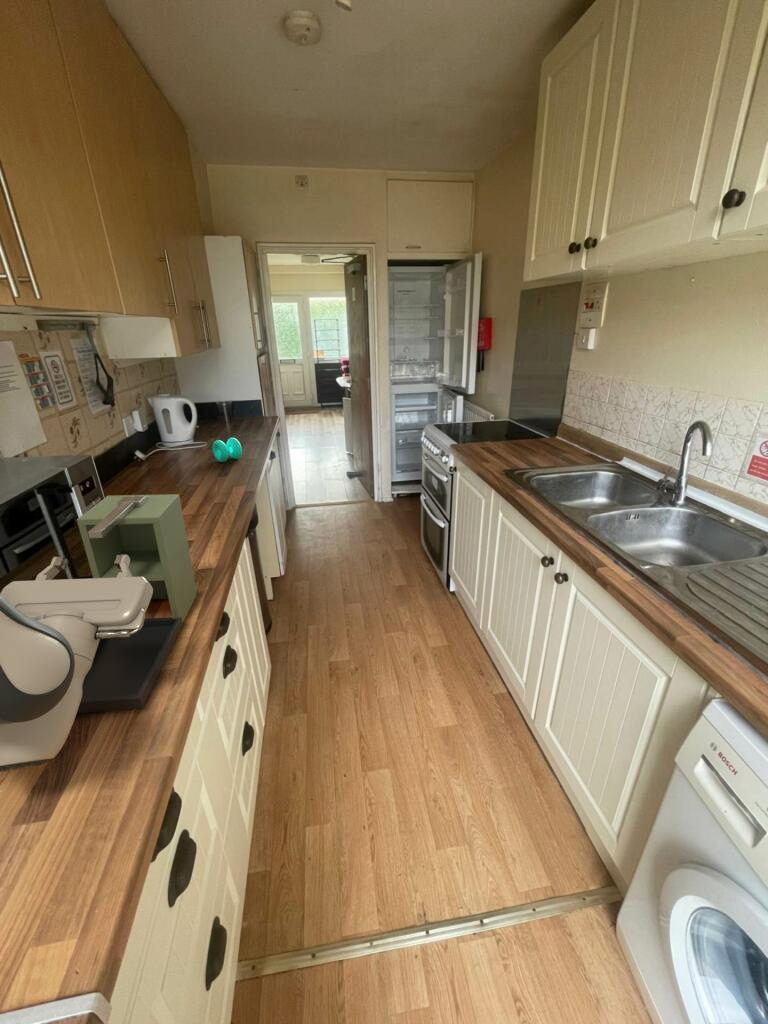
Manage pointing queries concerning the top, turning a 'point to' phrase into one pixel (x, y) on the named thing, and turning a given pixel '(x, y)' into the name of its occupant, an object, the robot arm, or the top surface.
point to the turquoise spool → (227, 449)
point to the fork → (117, 515)
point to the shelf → (145, 547)
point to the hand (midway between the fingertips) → (93, 557)
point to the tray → (128, 667)
